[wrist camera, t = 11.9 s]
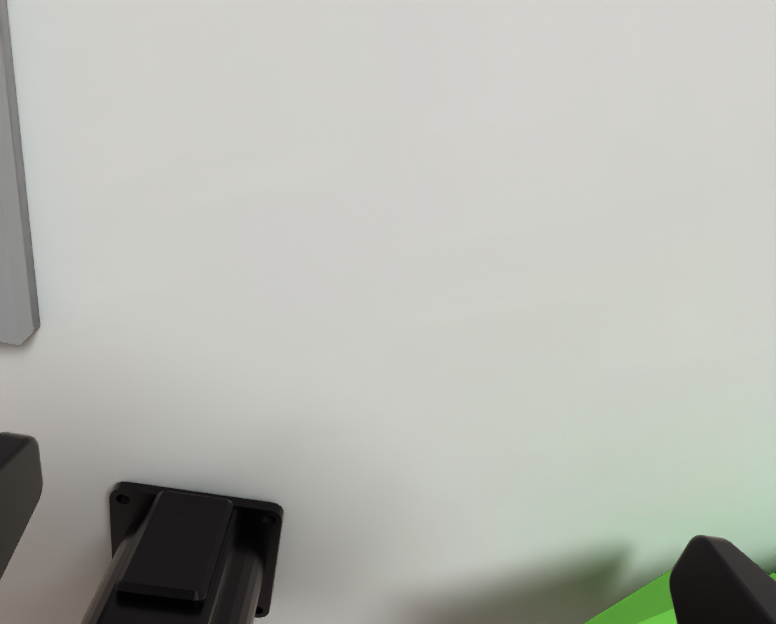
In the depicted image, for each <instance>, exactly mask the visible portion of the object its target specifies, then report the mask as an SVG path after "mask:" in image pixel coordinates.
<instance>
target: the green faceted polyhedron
mask: <svg viewBox="0 0 776 624" xmlns="http://www.w3.org/2000/svg"><path fill="white" fill-rule="evenodd" d="M671 571H672V569H671V570H670V571H668V572H666V573H665V574H663V575H662V576H660V577H658V578H657V579H655V580H653V581H652V582H650V583H649V584H647V585H645V586H644V587H642V588H640V589H639V590H637V591H636V592H634V593H632V594H631V595H629V596H628V597H626V598H624V599H623V600H621V601H619V602H618V603H616V604H615V605H613V606H611V607H610V608H608V609H606V610H605V611H603V612H602V613H600V614H598V615H597V616H595V617H594V618H592V619H590V620H589V621H587V622H585V623H584V624H677V621H676V616H675V612H674V607H673V603H672V599H671V594H670V589H669V578H670V574H671ZM770 576H771V577H772V578H773V579H774V580H775V581H776V573H772V574H770Z"/></svg>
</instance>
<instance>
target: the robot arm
mask: <svg viewBox="0 0 776 624" xmlns="http://www.w3.org/2000/svg"><path fill="white" fill-rule="evenodd" d="M42 486H43V479H42V471H41V463H40V454H39V446H38V442H37V440H36V439H35V438H34V437H32V436H29V435H22V434H15V433H8V432H2V433H0V579H1V577H2V575H3V573H4V571H5V569H6V567H7V565H8V563H9V561H10V559H11V557H12V555H13V552H14V550H15V548H16V546H17V544H18V542H19V540H20V538H21V536H22V534H23V532H24V530H25V528H26V526H27V524H28V522H29V520H30V518H31V515H32V513H33V511H34V509H35V507H36V505H37V503H38V501H39V498H40V495H41V492H42ZM125 495H126V496H125ZM109 499H110V520H111V541H112V561H111V563H110V565H109V567H108V569H107V571H106V573H105V576H104V578H103V580H102V582H101V584H100V586H99V588H98V590H97V592H96V594H95V596H94V598H93V600H92V602H91V604H90V606H89V608H88V610H87V612H86V614H85V616H84V618H83V620H82V622H81V624H253V621H254V617H256V618H261V617H265V616H266V615H268V613H269V610H270V605H271V598H272V592H273V585H274V578H275V571H276V564H277V557H278V551H279V544H280V537H281V530H282V523H283V516H284V511H283V509H282V507H281V506H279V505H278V504H275V503H271V502H264V501H257V500H250V499H243V498H236V497H229V496H222V495H215V494H208V493H201V492H194V491H187V490H180V489H173V488H166V487H159V486H152V485H145V484H138V483H131V482H120V483H117V484H116V485H115V486H114V488H113V490H112V492H111V494H110V497H109ZM267 515H271V517H270V516H267ZM669 589H670V594H671V599H672V603H673V607H674V612H675V616H676V621H677V624H776V581H775V580H774V579H773V578H772V577H771V576H770V575H768V574H767V573H766V572H765V571H764V570H763V569H761V568H760V567H759V566H758V565H757V564H755V563H754V562H753V561H752V560H751V559H750V558H748V557H747V556H746V555H745V554H744V553H743V552H741V551H740V550H739V549H738V548H737V547H736V546H734V545H733V544H732V543H731V542H729V541H728V540H726V539H723V538H718V537H712V536H705V535H697V536H695V537H693V538H692V539H691V540H690V541H689V543H688V545H687V546H686V548H685V549H684V551H683V553H682V554H681V556H680V558H679V559H678V561H677V562H676V564H675V566H674V567H673V569H672V571H671V574H670V578H669Z"/></svg>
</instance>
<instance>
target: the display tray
mask: <svg viewBox="0 0 776 624" xmlns="http://www.w3.org/2000/svg"><path fill="white" fill-rule="evenodd" d="M39 327H40V320H39V310H38V301H37V291H36V282H35V272H34V262H33V253H32V243H31V233H30V224H29V214H28V205H27V195H26V185H25V176H24V166H23V157H22V147H21V137H20V128H19V118H18V109H17V99H16V89H15V80H14V70H13V60H12V51H11V41H10V32H9V22H8V12H7V3H6V0H0V342H2V343H8V344H14V345H21V344H22V343H23V342H24V341H25V340H26V339H27V338H28V337H29V336H30V335H31V334H32V333H33V332H35V331H36V330H37V329H38V328H39Z"/></svg>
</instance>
